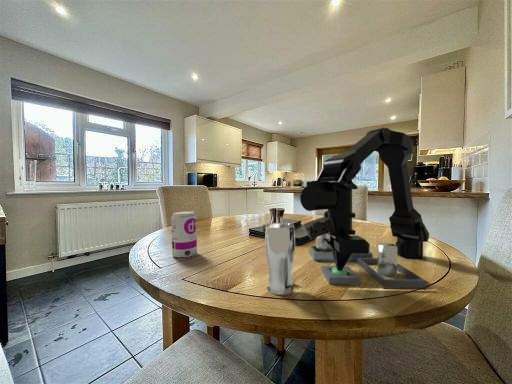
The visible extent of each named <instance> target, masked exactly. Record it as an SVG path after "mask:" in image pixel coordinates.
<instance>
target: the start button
mask: <svg viewBox="0 0 512 384" xmlns="http://www.w3.org/2000/svg"><path fill="white" fill-rule="evenodd" d="M332 274H333V275H347V270H346V269H344V268H343V270H342V271H338V270H337V268H336V267H334V268H332Z"/></svg>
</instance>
